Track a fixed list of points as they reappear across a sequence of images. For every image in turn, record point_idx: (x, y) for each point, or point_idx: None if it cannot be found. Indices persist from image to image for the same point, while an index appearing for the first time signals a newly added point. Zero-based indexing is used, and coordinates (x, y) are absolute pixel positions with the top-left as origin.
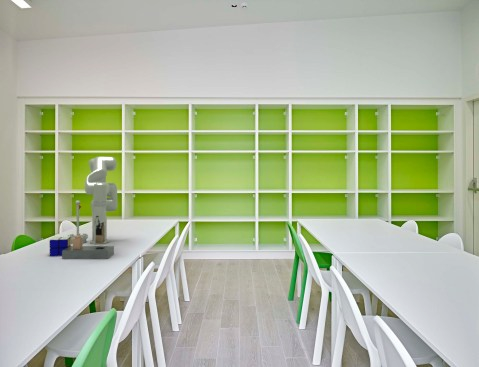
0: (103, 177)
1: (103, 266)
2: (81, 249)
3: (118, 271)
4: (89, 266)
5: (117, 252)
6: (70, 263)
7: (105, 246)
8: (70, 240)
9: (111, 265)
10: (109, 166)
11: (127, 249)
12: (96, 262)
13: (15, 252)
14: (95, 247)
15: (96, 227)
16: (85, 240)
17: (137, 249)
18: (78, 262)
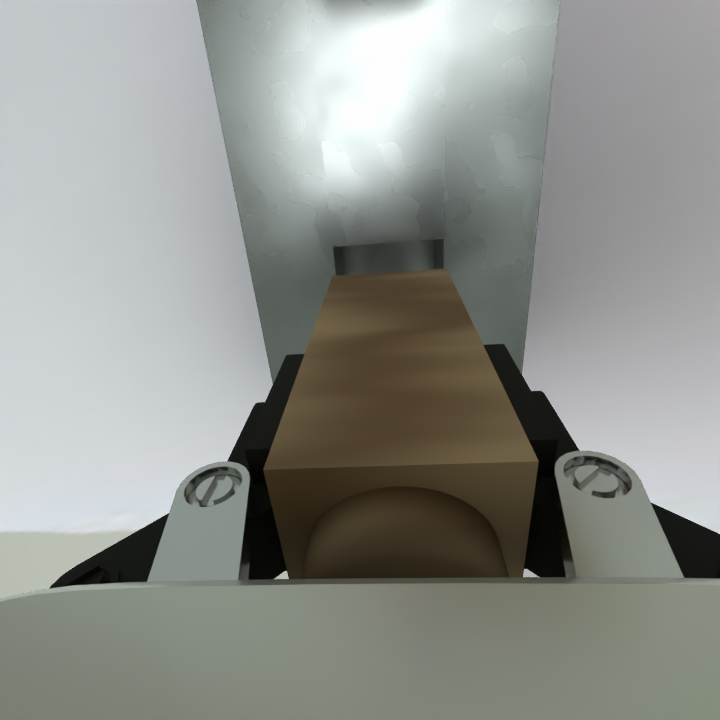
0: None
1: (68, 416)
2: (271, 40)
3: (6, 529)
4: (21, 314)
5: (567, 375)
6: (29, 52)
7: (497, 326)
8: None
9: (114, 457)
10: None
11: (697, 425)
12: (158, 321)
13: None
14: (432, 214)
15: (159, 520)
16: None
17: (672, 501)
18: (100, 134)
